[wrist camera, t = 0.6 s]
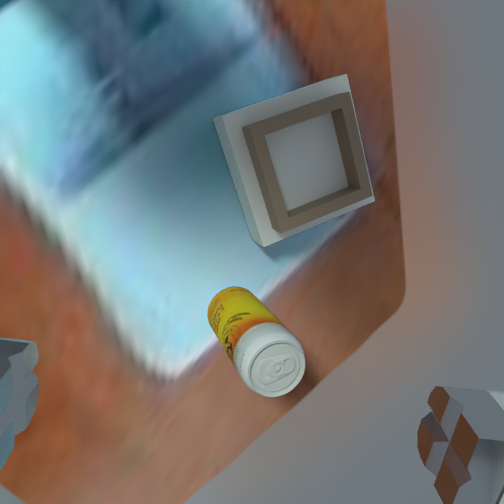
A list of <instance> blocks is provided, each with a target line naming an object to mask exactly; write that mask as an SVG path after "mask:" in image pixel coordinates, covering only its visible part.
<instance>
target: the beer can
mask: <svg viewBox="0 0 504 504" xmlns="http://www.w3.org/2000/svg"><path fill="white" fill-rule="evenodd" d="M207 315H208V321H209V324H210V326H211V327H212V329H213V331H214V332H215V334H216V336H217V337H218V339H219V341H220V343H221V344H222V346H223V348H224V349H225V351H226V353H227V354H228V356H229V358H230V359H231V361H232V363H233V365H234V366H235V368H236V370H237V371H238V373H239V375H240V376H241V378H242V380H243V382H244V383H245V385H246V386H247V387H248V388H249V389H250V390H252V391H254V392H256V393H258V394H260V395H263V396H266V397H278V396H282V395H284V394H286V393H288V392H290V391H291V390H293V389H294V388H295V387H296V386H297V385H298V383H299V382H300V380H301V379H302V377H303V374H304V371H305V358H304V352H303V348H302V346H301V344H300V343H299V341H298V340H297V339H296V338H295V337H294V336H293V335H292V334H291V333H290V332H289V331H288V330H287V329H286V328H285V327H284V326H283V325H282V324H281V323H280V322H279V321H278V320H277V318H276V317H275V316H274V315H273V314H272V313H271V312H270V311H269V310H268V309H267V308H266V307H265V306H264V305H263V304H262V303H261V302H260V301H259V300H258V299H257V298H256V297H255V296H254V295H253V294H252V293H251V292H250V291H249V290H247V289H245V288H242V287H229V288H226V289H224V290H222V291H220V292H219V293H218V294H216V295H215V296H214V298H213V299H212V300H211V302H210V304H209V307H208V313H207Z"/></svg>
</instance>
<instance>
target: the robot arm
mask: <svg viewBox="0 0 504 504" xmlns="http://www.w3.org/2000/svg"><path fill="white" fill-rule="evenodd" d="M38 361H39V359H38V346H37V345H36V343H35V342H33V341H25V340H17V339H9V338H2V337H0V470H1V468H2V467H3V465H4V463H5V462H6V460H7V458H8V457H9V455H10V454H11V452H12V450H13V449H14V436H15V435H16V434H18V433H20V432H22V431H23V430H25V429H26V427H27V426H28V424H29V422H30V420H31V419H32V416H33V413H34V410H35V407H36V405H37V400H38V393H39V380H38V379H37V377H36V376H35V375H34V374H33V372H32V370H33V368H34V367H35V366H36V364H37V363H38ZM428 404H429V407H430V409H431V412H430V413H429V414H428V415H426V416H425V417H424V418H423V419H422V420H421V423H420V426H419V430H418V450H419V453H420V457H421V459H422V461H423V463H424V466H425V467H426V468H427V469H429V470H430V471H431V472H432V473H433V474H435V475H436V476H437V477H436V481H435V484H434V486H435V488H436V489H437V492H438V494H439V496H440V498H441V500H442V501H443V504H504V391H490V390H472V389H461V388H450V387H439V386H436V387H435V388H434V389H433V391H432V392H431V394H430V396H429V399H428Z"/></svg>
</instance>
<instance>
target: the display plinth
mask: <svg viewBox="0 0 504 504" xmlns="http://www.w3.org/2000/svg"><path fill="white" fill-rule="evenodd" d="M212 119H213V122H214V125H215V128H216V131H217V134H218V137H219V140H220V143H221V146H222V149H223V152H224V155H225V158H226V161H227V164H228V167H229V170H230V174H231V177H232V180H233V183H234V186H235V189H236V192H237V195H238V198H239V201H240V204H241V207H242V210H243V213H244V216H245V219H246V222H247V225H248V229H249V232H250V235H251V238H252V240H254V241H255V242H257V243H258V244H260V245H261V246H262V247H266V246H268V245H271V244H273V243H276V242H278V241H280V240H283V239H285V238H288V237H290V236H292V235H295V234H297V233H300V232H302V231H304V230H307V229H309V228H312V227H314V226H316V225H319V224H321V223H324V222H326V221H328V220H331V219H333V218H336V217H338V216H340V215H343V214H345V213H348V212H350V211H352V210H355V209H357V208H360V207H362V206H364V205H367V204H369V203H372V202H374V201H375V199H374V194H373V190H372V185H371V181H370V176H369V172H368V167H367V163H366V158H365V154H364V149H363V145H362V140H361V136H360V131H359V126H358V122H357V117H356V113H355V108H354V104H353V99H352V95H351V90H350V86H349V81H348V77H347V74H345V75H341V76H337V77H333V78H329V79H326V80H323V81H320V82H317V83H314V84H311V85H308V86H305V87H302V88H299V89H296V90H293V91H290V92H287V93H285V94H282V95H279V96H276V97H273V98H270V99H267V100H264V101H261V102H258V103H255V104H252V105H249V106H246V107H243V108H240V109H238V110H235V111H232V112H229V113H226V114H223V115H220V116H217V117H214V118H212Z"/></svg>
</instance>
